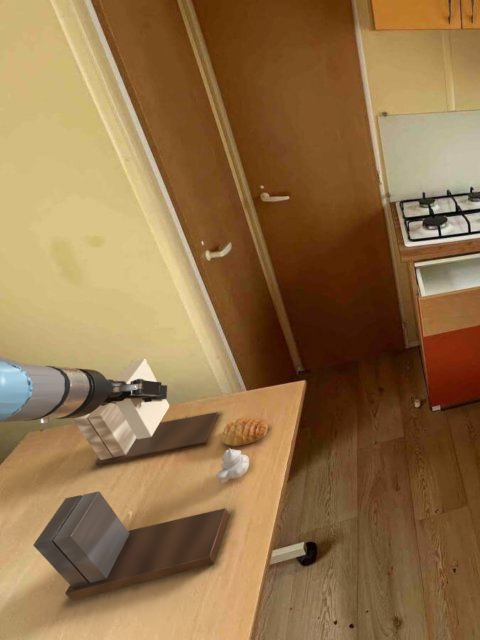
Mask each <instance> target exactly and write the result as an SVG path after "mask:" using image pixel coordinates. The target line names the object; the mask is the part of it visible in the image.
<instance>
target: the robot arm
mask: <svg viewBox="0 0 480 640" xmlns="http://www.w3.org/2000/svg"><path fill="white" fill-rule="evenodd" d="M162 383H163V382H161V381H157V382H154V381H145V380H143V379H136V380H134V381H131V383H130V384H126V382H125V381H116V380H114V379H108V378H106V377H105V375H104V374H103V373H101V372H100V371H98V370H95V369H88V368H79V367H76V368H75V367H69V366H55V365H36V364H28V363H23V362H19V361H16V360H14V359H11V358H8V357H6V356H3V355H1V354H0V423H9V422H28V421H37V420H38V423H39V424H40V425H46V424H48V423H49V421H50V420H65V419H75V418H78V417H82V416H85V415H87V414H89V413H91V412H93V411H94V410H96V409H97V408H98V407H99V406H100V405H101V406H105V405H107V404H108V403H114V404H116V402H119V401H123V400H124V399H138V398H142V400H144V402H151V401H152V400H163V399H166V400H167V396H168V385H167V384H162Z"/></svg>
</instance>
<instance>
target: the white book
mask: <svg viewBox="0 0 480 640" xmlns="http://www.w3.org/2000/svg"><path fill="white" fill-rule="evenodd" d="M136 379H143V380H145V381H154V382H158V381H157V379H156V376H155V375H154V373H153V371H152V369H151V367H150V365H149V362H148V361H147V359H146V358H141V359H133V360H131V361H129V363H128V364H127V365H126V367H125V368H124V369H123V370H122V371H121V373H120V374H119V376H118V377H117V378H116V379H115V381H125V382H126V384H130V383H131V381H134V380H136ZM116 404H117V406H118V407H119V409H120V411H121V412H122V414H123V416H124V417H125V419H126V421H127V422H128V424H129V426H130V428H131V429H132V431H133V433H134V434H135V436H136V438H137V439H142V438H147V437H152V435H153V433H154V432H155V430H156V428H157V427H158V425H159V423H162V420H163V419H164V417H165V415H166V413H167V411H168V410H169V408H170V403H169V402H168V400H167V399H163V400H152V401H151V402H144V400H142V398H138V399H124V400H123V401H119V402H116Z"/></svg>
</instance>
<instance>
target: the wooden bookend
mask: <svg viewBox="0 0 480 640" xmlns="http://www.w3.org/2000/svg"><path fill="white" fill-rule="evenodd" d="M218 417H219V412H218V411H216V412H211V413H206V414H201V415H200V414H199V415H195V416H190V417H184V418H183V417H182V418H178V419H173V420H168V421H163V422H162V421H161V422H160V423H159V425H158V427H157V428H156V430H155V432H154V433H153V435H152V437H147V438H142V439H137V438H136V436H135V434H134V433H133V431H132V429H131V428H130V426H129V424H128V422H127V421H126V419H125V417H124V416H123V414H122V412H121V411H120V409H119V407H118V406H117V404H114V403H108V404H107V405H105V406H101V405H100V406H99V407H98V408H97V409H96V410H94V411H93V412H91V413H89V414H87V415H85V416H82V417H78V418H73V420H72V421H73V423H75V425H76V426H77V428H78V430H79V431H80V433H81V434H82V435H83V437H84V438H85V440H86V441H87V442H88V444H89V446H90V447H91V448H92V451H94V453H95V455H96V456H97V457H98V459H97V460H96V461H95V465H96V467H100V466H105V465H111V464H115V463H121V462H125V461H130V460H131V461H132V460H135V459H140V458H146V457H151V456H155V455H161V454H165V453H170V452H176V451H180V450H181V451H182V450H185V449H191V448H195V447H201V446H206V444H207V442H208V440H209V438H210V435H211V434H212V431H213V430H214V427H215V424H216V422H217V420H218Z"/></svg>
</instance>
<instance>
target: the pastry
mask: <svg viewBox="0 0 480 640" xmlns="http://www.w3.org/2000/svg"><path fill="white" fill-rule="evenodd" d="M267 433H268V425H267V424H266V423H264V422H262V420H257V419H255V418H253V419H252V418H248V417H247V418H243V417H241V418H238V419H237V420H230V421H228V423H226V425H225V427H224V429H223V432H222V436H221V441H222V443H223V444H225V445H228V446H229V447H230V446H231V447H232V446H235V447H238V446H242V445H247V444H251V443H252V444H253V443H255V442H258V441H260V440H262V439H263V438H265V436H266V434H267Z"/></svg>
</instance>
